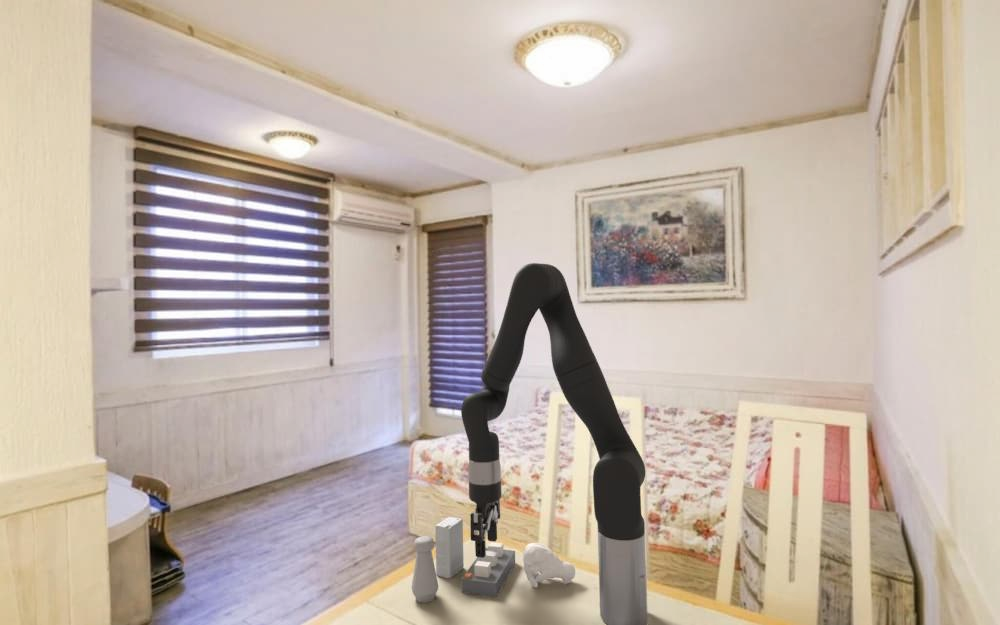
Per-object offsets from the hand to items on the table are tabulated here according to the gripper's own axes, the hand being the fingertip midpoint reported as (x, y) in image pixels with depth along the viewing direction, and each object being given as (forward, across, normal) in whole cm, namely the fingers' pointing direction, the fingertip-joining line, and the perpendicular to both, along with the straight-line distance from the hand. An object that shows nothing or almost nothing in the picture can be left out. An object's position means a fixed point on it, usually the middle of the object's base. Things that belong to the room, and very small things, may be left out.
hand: (486, 548), depth 121 cm
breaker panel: (+8, +2, 0) cm, 8 cm away
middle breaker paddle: (+4, +2, 0) cm, 5 cm away
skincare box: (+8, +2, +10) cm, 13 cm away
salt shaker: (+8, -10, +11) cm, 17 cm away
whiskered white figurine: (+8, +3, -14) cm, 16 cm away
